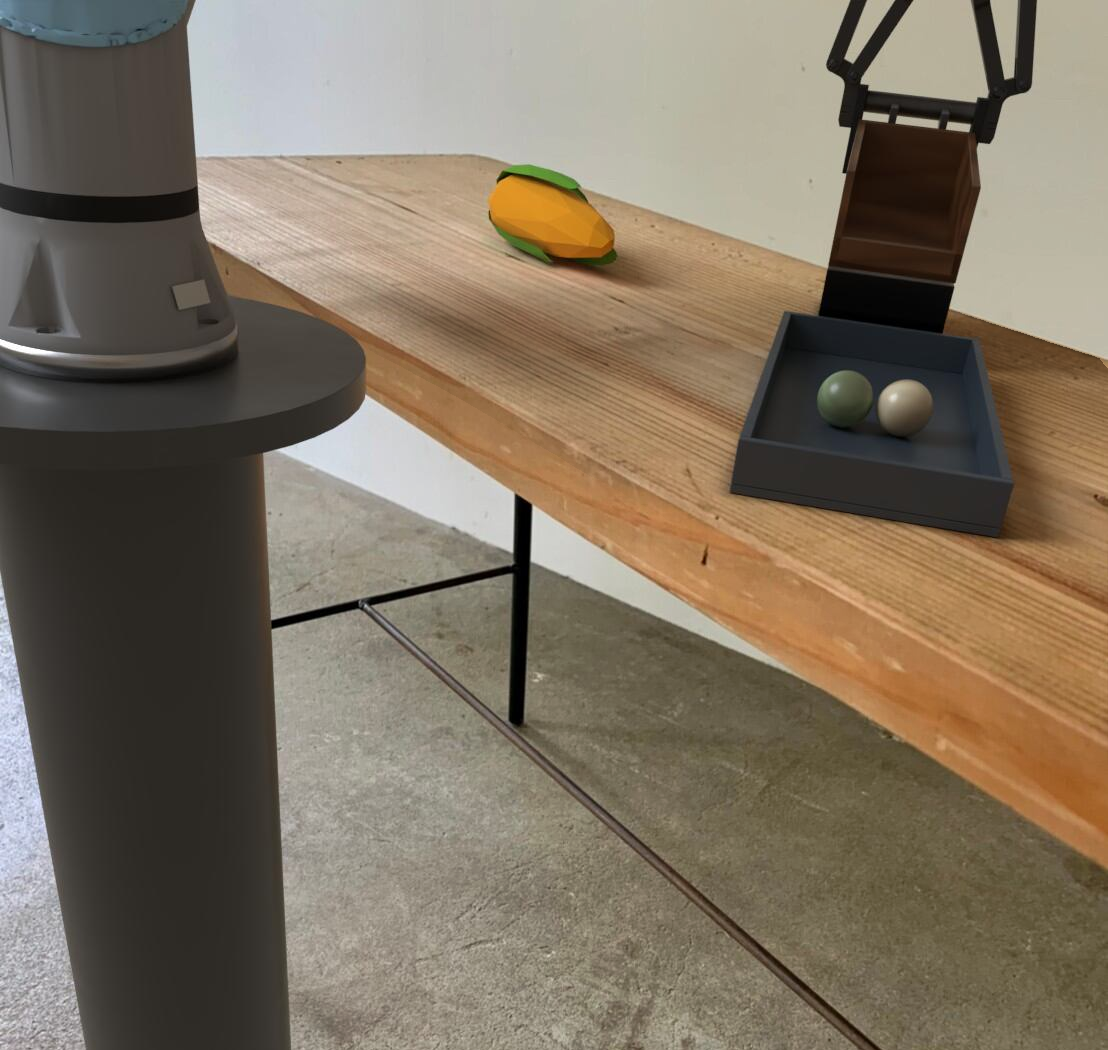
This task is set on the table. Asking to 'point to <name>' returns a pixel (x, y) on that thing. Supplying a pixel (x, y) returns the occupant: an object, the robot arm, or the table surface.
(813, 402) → the tray
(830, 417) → the ball sage
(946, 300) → the stand
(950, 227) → the brown wooden tipping box
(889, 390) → the ball ivory
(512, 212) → the corn
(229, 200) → the table surface
